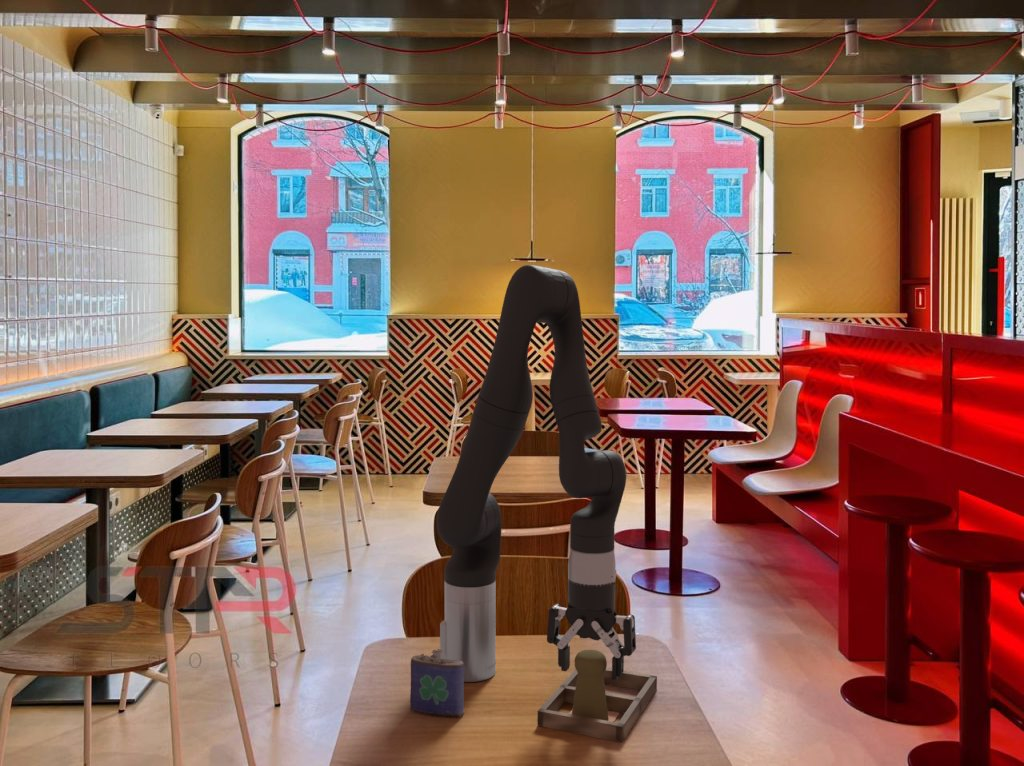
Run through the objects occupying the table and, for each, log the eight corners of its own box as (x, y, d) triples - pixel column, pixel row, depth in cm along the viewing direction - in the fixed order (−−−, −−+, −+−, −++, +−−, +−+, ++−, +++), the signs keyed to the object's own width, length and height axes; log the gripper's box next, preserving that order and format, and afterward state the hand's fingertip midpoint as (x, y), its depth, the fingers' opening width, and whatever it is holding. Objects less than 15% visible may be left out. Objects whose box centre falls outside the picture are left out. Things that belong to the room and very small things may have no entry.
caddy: (537, 725, 153) (537, 710, 153) (580, 677, 172) (580, 663, 172) (622, 742, 148) (622, 726, 147) (656, 690, 167) (656, 676, 167)
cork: (606, 728, 152) (607, 661, 151) (568, 724, 153) (569, 657, 152) (610, 711, 158) (611, 646, 157) (574, 708, 159) (574, 644, 158)
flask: (466, 712, 158) (465, 649, 157) (460, 720, 155) (459, 656, 154) (413, 705, 160) (412, 643, 159) (407, 713, 158) (406, 650, 157)
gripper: (541, 576, 152) (540, 675, 154) (628, 588, 147) (626, 690, 148) (557, 564, 159) (557, 658, 161) (641, 574, 154) (639, 672, 155)
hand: (590, 673), depth 155 cm, fingers open, 8 cm apart
